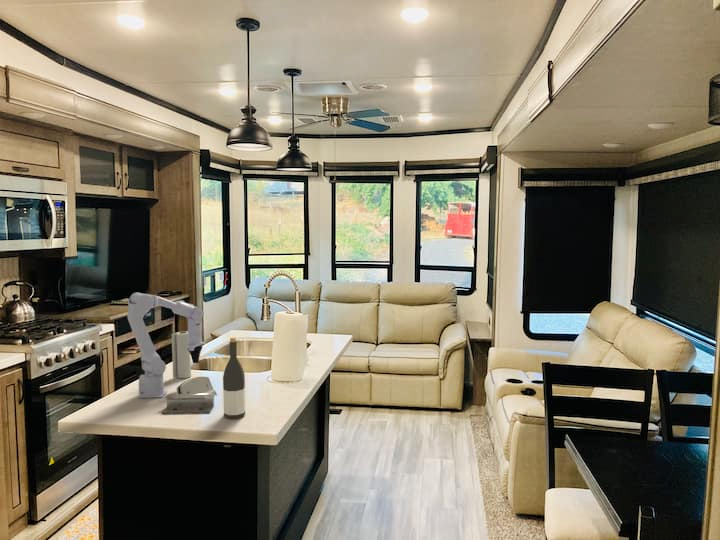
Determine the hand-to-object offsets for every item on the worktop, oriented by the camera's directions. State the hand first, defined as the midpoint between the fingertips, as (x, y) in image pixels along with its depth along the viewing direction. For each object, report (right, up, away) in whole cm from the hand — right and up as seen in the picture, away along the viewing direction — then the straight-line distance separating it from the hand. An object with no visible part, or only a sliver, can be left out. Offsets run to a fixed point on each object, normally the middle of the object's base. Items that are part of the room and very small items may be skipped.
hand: (195, 362), depth 246 cm
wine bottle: (+26, -14, -37) cm, 48 cm away
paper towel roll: (-10, -9, +12) cm, 18 cm away
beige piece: (+6, -12, -19) cm, 23 cm away
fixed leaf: (+7, -13, -31) cm, 35 cm away
